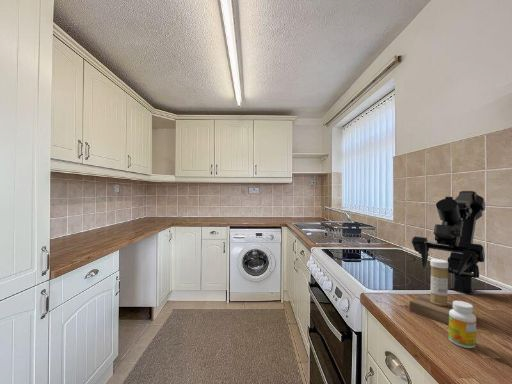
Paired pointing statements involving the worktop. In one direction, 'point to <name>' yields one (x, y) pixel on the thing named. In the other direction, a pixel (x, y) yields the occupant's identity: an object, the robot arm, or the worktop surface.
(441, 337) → the worktop surface
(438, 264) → the sprinkles bottle
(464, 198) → the robot arm
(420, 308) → the walnut block
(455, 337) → the supplement bottle
